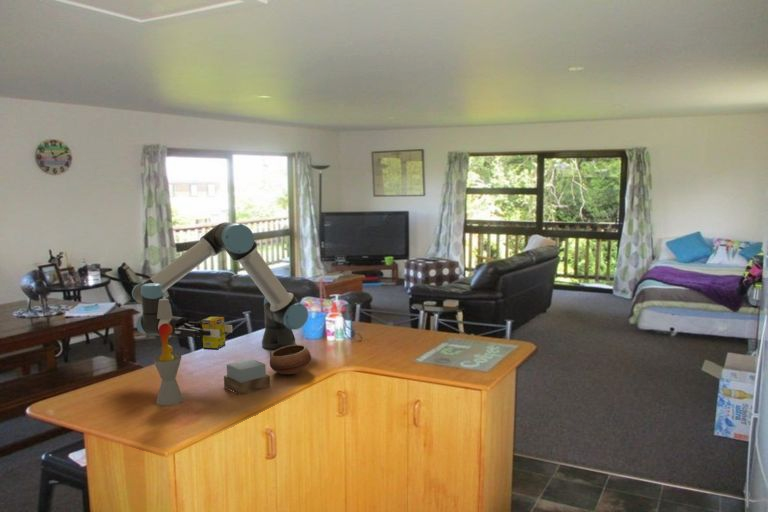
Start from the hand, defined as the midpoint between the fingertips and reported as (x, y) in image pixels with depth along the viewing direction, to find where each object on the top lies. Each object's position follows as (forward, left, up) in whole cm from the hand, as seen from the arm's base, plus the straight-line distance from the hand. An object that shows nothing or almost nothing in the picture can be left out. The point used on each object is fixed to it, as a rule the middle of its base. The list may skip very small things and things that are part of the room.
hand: (225, 331), depth 210 cm
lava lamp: (+21, -1, -21) cm, 29 cm away
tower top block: (-5, +5, -17) cm, 18 cm away
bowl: (-25, +2, -21) cm, 33 cm away
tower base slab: (-5, +5, -21) cm, 22 cm away
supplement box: (+2, -4, -7) cm, 8 cm away
